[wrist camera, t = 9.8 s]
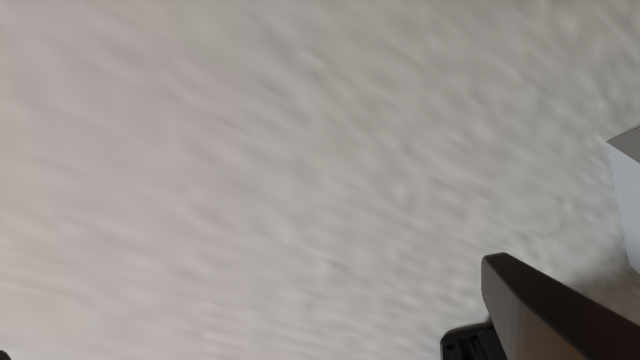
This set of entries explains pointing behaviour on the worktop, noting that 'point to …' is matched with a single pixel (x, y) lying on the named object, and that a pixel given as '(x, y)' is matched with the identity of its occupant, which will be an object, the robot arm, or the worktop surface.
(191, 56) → the worktop surface
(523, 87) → the worktop surface
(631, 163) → the slate-grey brick
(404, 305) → the worktop surface
